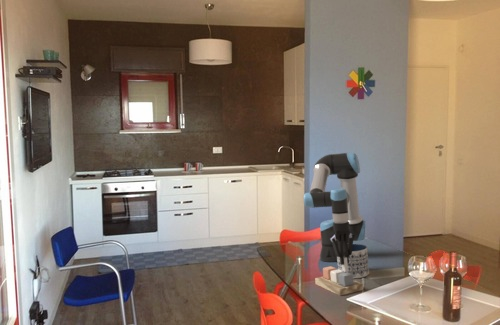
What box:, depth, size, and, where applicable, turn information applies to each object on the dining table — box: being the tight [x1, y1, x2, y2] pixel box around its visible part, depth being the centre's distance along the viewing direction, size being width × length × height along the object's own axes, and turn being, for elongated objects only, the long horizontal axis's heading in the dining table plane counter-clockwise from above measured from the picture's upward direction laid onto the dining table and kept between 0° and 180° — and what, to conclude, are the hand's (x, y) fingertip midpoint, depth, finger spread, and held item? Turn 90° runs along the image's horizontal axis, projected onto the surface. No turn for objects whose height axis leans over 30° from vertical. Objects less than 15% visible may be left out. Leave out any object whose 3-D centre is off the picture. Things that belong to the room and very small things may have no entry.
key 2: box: [338, 272, 354, 287], centre depth 225 cm, size 5×5×5 cm
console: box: [314, 276, 364, 296], centre depth 231 cm, size 13×22×3 cm, turn 23°
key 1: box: [322, 265, 338, 280], centre depth 238 cm, size 5×5×5 cm
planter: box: [336, 243, 370, 280], centre depth 249 cm, size 16×16×14 cm
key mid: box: [330, 268, 345, 283], centre depth 231 cm, size 5×5×5 cm
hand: (345, 270), depth 224 cm, fingers closed
